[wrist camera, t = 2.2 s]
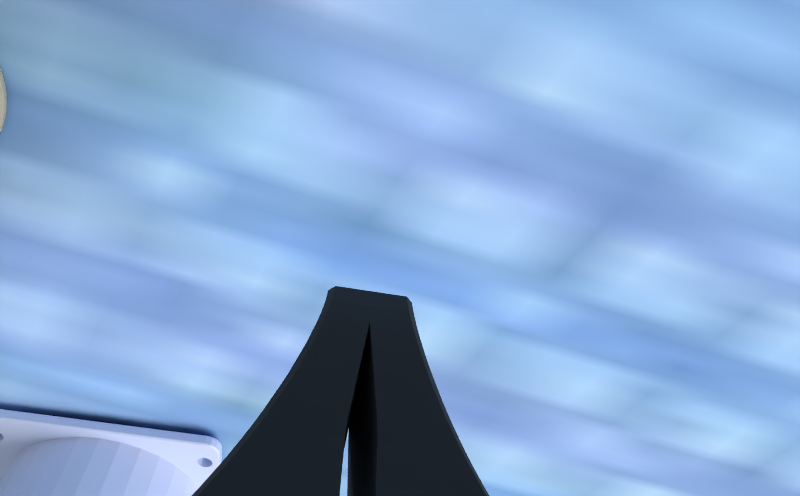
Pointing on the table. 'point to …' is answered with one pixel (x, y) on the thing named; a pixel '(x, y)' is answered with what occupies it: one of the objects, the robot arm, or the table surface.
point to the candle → (2, 100)
